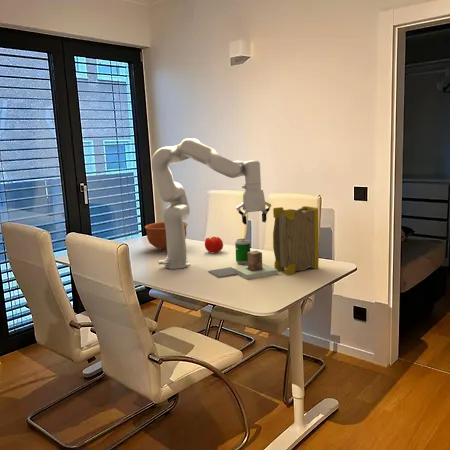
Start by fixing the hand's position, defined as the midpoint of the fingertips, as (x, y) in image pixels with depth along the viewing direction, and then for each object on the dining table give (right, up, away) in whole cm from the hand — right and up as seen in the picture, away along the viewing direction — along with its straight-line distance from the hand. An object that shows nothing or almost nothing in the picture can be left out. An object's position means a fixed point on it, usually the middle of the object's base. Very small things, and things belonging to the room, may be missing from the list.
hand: (254, 223), depth 225 cm
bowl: (-48, -16, +54) cm, 74 cm away
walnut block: (0, -24, -3) cm, 24 cm away
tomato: (-20, -17, +42) cm, 49 cm away
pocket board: (0, -23, -3) cm, 24 cm away
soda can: (-5, -20, +17) cm, 27 cm away
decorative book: (+20, -22, -1) cm, 30 cm away
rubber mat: (-14, -24, -1) cm, 28 cm away
